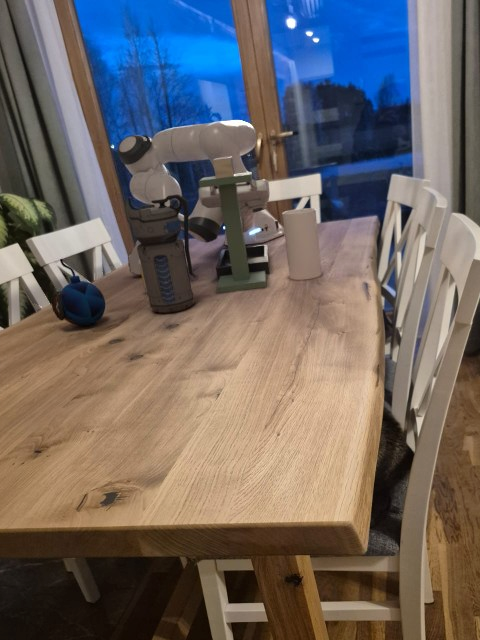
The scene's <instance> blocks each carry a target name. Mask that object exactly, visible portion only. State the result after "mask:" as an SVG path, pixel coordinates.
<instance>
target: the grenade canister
mask: <svg viewBox="0 0 480 640" xmlns="http://www.w3.org/2000/svg"><path fill="white" fill-rule="evenodd" d="M168 200H170V206H165V202H167V201H168ZM151 202H152V203H154V204H156V203H159V204H160V206H159V207H155V206H154V205H148V204H146V205H141V206H135V204H133V201H132V197H131V196H129V197H126V200H125V205H124V213H125V218H126V221H127V222H128V223H129V226H130V228H132V232H133V237H134V238H135V240H136V241H137V240H138V241H139V242H140V243H141V244H139V245H138V247H137V251H138V255H139V258H140V262H141V267H142V271H143V275H144V280H145V284H146V289H147V293H146V294H147V297H148V303H149V307H150V308H151V310H152V311H153V312H156V313H161V314H170V313H171V314H172V313H177V312H181V311H184V310H186V309H188V308H190V307H191V306H193V304H194V301H195V296H194V291H193V288H192V283H191V279H190V276H192V277H193V278H195V279H198V277H197V276H198V275H196V274H195V273H194V271H193V265H192V259H191V253H190V244H189V243H190V242H189V241H190V240H189V239H190V234H189V220H188V217H189V205H188V200H187V198H185V197H183V195H182V196H180V195H170V196H167V197H166V198H165V199H160V200H152V201H151ZM182 208H183V215H184V231H183V232H184V233H183V235H184V240H183V239H182V238H179V235H180V232H181V231H182V230H181V223H180V219H179V218H178V214H179V213H180V212H181V210H182Z"/></svg>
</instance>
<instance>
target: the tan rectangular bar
mask: <svg viewBox="0 0 480 640" xmlns="http://www.w3.org/2000/svg"><path fill="white" fill-rule="evenodd" d="M213 164H214V167H213V169H214V176H216V179H217V178H225V177H233V176H234V174H235V172H234V166H233V159H232V156H231V157H223V158H216V159H214V160H213Z"/></svg>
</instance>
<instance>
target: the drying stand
mask: <svg viewBox="0 0 480 640" xmlns="http://www.w3.org/2000/svg"><path fill="white" fill-rule="evenodd" d="M252 179H253V173H252V171H248V172H245V173H237V174H234V176H233V177H225V178H217V179H216V176H215V175H213V176H205V177H202V178H201V179H199V180H198V186H199V188H202V187H210V186H218V188H219V194H220V200H221V206H222V212H223V219H224V221H223V223H224V227H225V229H224V232H225V231H226V237H227V243H228V245H227V248H228V249H229V255H230V262H231V268H232V274H233V275H226V276H220V278H219V280H218V281H217V285H216V292H217V294H222V293H229V292H237V291H238V292H239V291H246V290H253V289H262V288H267V274H266V273H265V271H258V272H250V273H249V267H248V260H247V254H246V247H247V246H246V245H245V240H244V234H243V227H242V220H241V214H240V207H239V200H238V194H237V187H236V183H242V182H250V181H252Z"/></svg>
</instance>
